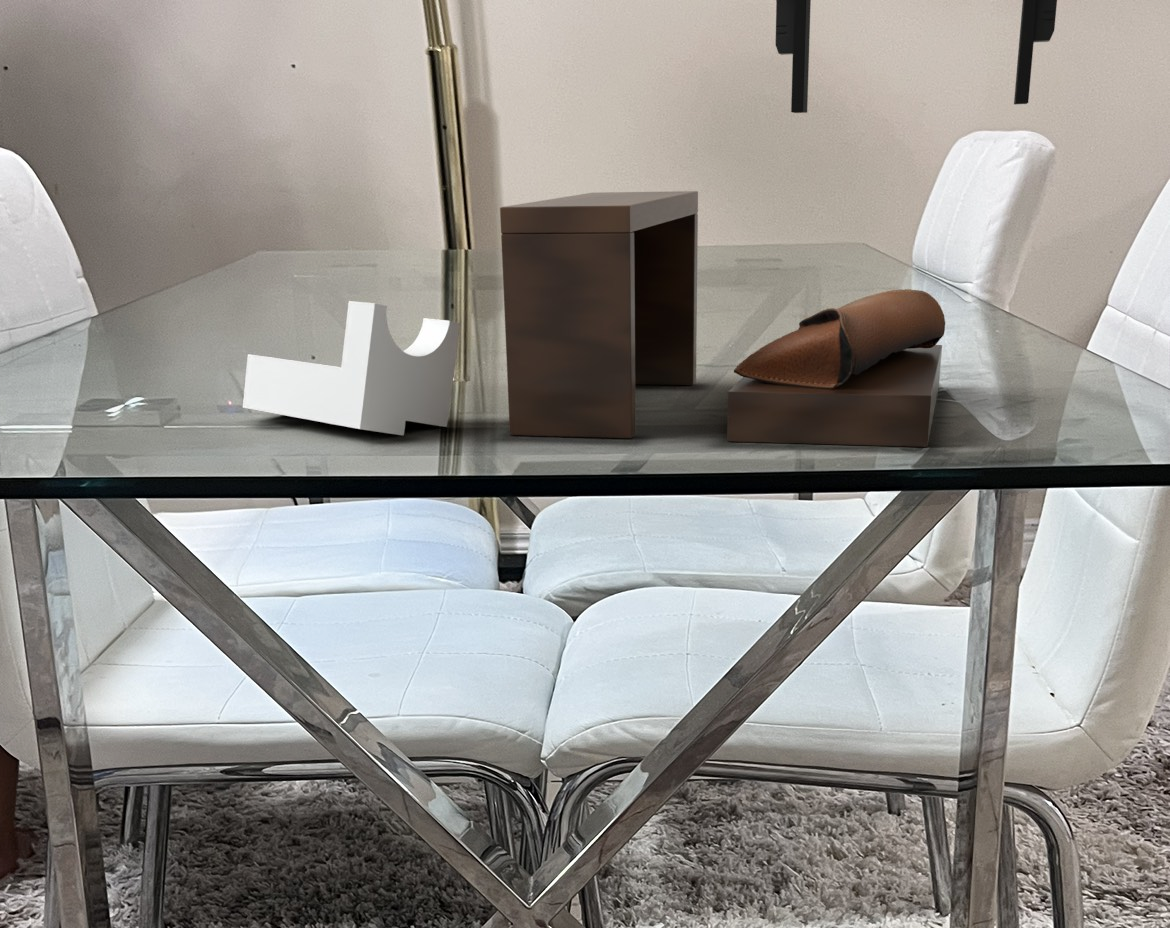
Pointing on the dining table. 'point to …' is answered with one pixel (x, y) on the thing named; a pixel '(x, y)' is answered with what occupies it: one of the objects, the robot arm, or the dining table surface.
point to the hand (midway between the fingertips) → (908, 109)
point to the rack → (660, 333)
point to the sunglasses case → (848, 340)
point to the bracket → (363, 377)
